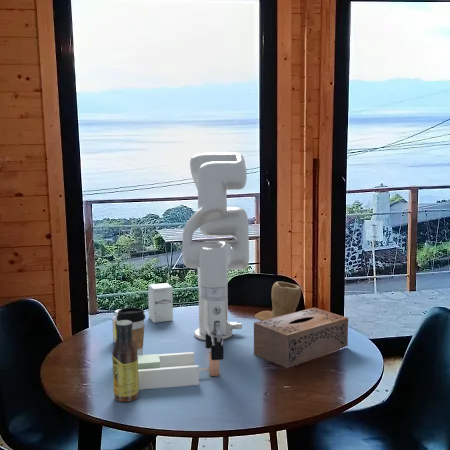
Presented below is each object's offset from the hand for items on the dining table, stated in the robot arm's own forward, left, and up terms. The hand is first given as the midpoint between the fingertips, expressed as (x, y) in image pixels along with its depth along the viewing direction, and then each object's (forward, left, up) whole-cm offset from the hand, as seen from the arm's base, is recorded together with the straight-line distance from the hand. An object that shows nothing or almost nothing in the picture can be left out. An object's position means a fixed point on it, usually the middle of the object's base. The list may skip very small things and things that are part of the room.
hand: (214, 353), depth 156 cm
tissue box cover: (-29, -14, -7) cm, 33 cm away
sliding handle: (+10, -1, -6) cm, 12 cm away
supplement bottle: (+25, -34, -7) cm, 42 cm away
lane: (+14, -1, -7) cm, 15 cm away
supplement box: (+11, -55, -7) cm, 56 cm away
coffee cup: (+22, -18, -7) cm, 29 cm away
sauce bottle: (+24, +9, -7) cm, 26 cm away
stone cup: (-30, -41, -7) cm, 51 cm away
